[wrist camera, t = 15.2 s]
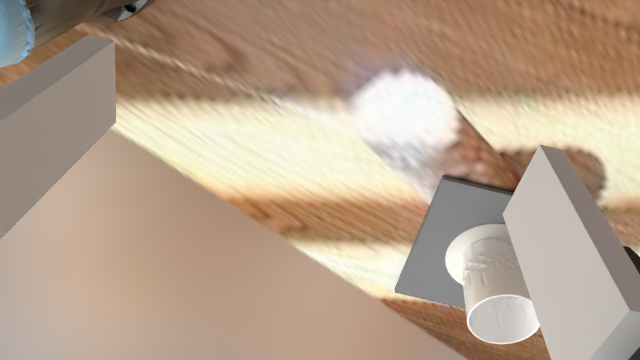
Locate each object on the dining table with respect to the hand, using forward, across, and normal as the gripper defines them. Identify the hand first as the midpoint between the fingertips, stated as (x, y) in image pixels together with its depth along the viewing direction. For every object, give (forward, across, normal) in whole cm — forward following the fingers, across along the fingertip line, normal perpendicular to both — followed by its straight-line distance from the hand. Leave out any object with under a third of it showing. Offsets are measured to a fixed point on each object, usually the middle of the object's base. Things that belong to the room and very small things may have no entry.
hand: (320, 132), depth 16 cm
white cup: (+36, +25, -31) cm, 54 cm away
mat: (+37, +25, -31) cm, 54 cm away
